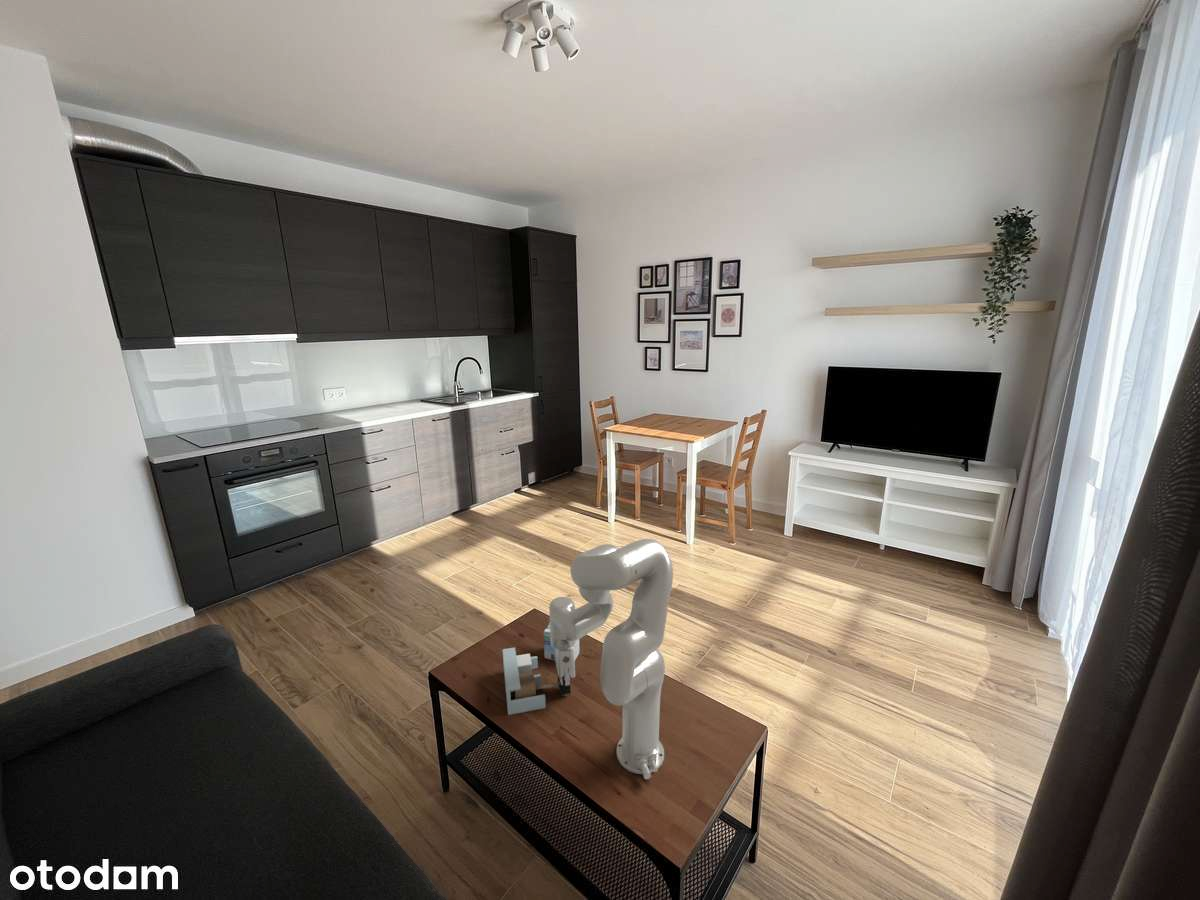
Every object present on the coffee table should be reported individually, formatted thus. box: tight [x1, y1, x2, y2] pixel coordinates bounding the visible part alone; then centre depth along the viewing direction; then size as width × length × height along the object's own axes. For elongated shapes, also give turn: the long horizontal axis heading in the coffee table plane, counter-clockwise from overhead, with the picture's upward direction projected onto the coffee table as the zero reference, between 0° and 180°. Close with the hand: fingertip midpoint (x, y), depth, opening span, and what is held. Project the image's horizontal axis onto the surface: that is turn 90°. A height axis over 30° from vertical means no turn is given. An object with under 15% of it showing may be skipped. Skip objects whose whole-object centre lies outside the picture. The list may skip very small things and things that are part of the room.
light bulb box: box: [543, 622, 580, 662], centre depth 170 cm, size 11×7×11 cm, turn 73°
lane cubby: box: [502, 647, 547, 716], centre depth 154 cm, size 19×11×9 cm, turn 14°
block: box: [516, 653, 533, 675], centre depth 159 cm, size 6×6×7 cm
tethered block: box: [513, 672, 569, 700], centre depth 151 cm, size 6×16×7 cm, turn 104°
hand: (564, 689), depth 153 cm, fingers closed on tethered block, 2 cm apart
